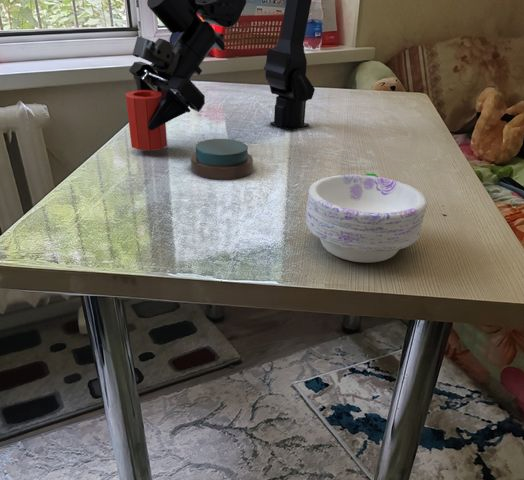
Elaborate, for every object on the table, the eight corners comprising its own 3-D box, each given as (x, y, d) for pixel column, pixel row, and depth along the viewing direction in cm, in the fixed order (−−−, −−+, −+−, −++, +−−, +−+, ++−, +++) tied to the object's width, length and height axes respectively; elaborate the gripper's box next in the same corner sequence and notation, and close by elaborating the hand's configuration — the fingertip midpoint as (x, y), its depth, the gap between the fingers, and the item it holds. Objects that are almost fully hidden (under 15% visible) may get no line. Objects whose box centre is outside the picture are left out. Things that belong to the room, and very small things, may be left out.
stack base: (226, 155, 105) (226, 133, 102) (264, 171, 98) (265, 148, 96) (179, 166, 99) (177, 144, 96) (217, 184, 92) (216, 160, 90)
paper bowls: (391, 222, 82) (401, 170, 77) (433, 271, 70) (448, 213, 66) (292, 226, 80) (296, 172, 75) (319, 278, 68) (325, 218, 63)
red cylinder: (164, 138, 108) (160, 89, 102) (168, 149, 102) (164, 98, 97) (130, 140, 106) (124, 90, 101) (132, 151, 101) (126, 99, 95)
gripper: (133, 11, 100) (85, 83, 101) (186, 24, 88) (132, 106, 89) (173, 56, 108) (129, 122, 109) (227, 73, 97) (177, 147, 98)
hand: (140, 123), depth 101 cm, fingers closed on red cylinder, 7 cm apart
